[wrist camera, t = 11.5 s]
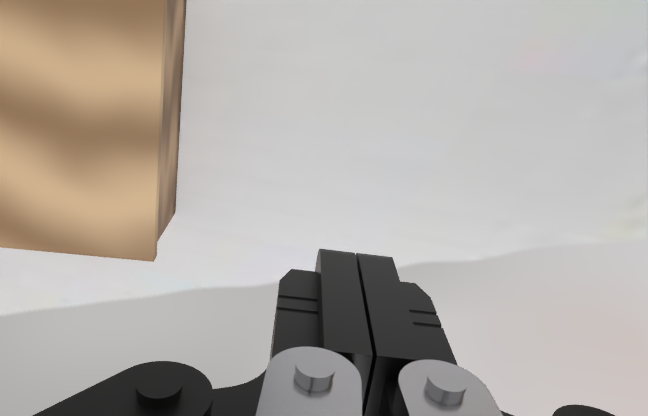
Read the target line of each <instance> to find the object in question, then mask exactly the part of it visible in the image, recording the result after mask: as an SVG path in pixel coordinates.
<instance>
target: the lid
mask: <svg viewBox="0 0 648 416" xmlns="http://www.w3.org/2000/svg"><path fill="white" fill-rule="evenodd" d="M166 18H167V0H0V247H3V248H14V249H25V250H35V251H46V252H57V253H67V254H78V255H89V256H99V257H110V258H121V259H131V260H142V261H153V262H154V260H155V258H156V256H157V233H158V209H159V185H160V161H161V137H162V113H163V90H164V66H165V42H166Z"/></svg>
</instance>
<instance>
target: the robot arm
mask: <svg viewBox="0 0 648 416" xmlns="http://www.w3.org/2000/svg"><path fill="white" fill-rule="evenodd" d="M33 416H513V415H510V414H508V413H505V412H503V411H501V410H500V409H499V407H498V406H497V404H496V402H495V400H494V398H493V397H492V395H491V393H490V391H489V390H488V388H487V387H486V385H485V384H484V383H483V382H482V381H481V380H480V379H479V378H478V377H476V376H475V375H474V374H472V373H471V372H469V371H467V370H465V369H464V368H462V367H459V366H458V365H457V363H456V360H455V358H454V355H453V353H452V350H451V348H450V345H449V343H448V340H447V338H446V335H445V333H444V330H443V328H441V323H440V320H439V318H438V316H437V315H436V310H435V308H434V305H433V303H432V300H431V298H430V297H429V296H428V295H427V294H426V293H425V292H424V291H423V290H422V289H420V287H419V286H418V285H416V284H415V283H408V282H400V280H399V277H398V274H397V270H396V267H395V264H394V261H393V258H392V257H385V256H377V255H369V254H360V253H356V255H355V253H351V252H343V251H334V250H326V249H319V251H318V256H317V262H316V268H315V272H312V271H304V270H295V269H291V270H290V271H289V272H288V273H287V274H286V275H285V276H284V277H283V278H282V279H281V280H280V283H279V290H278V298H277V306H276V314H275V321H274V329H273V337H272V344H271V354H270V362H269V364H268V366H267V369H266V370H265V371H264V372H263V373H262V374H261V375H260V376H259V377H257V378H255V379H254V380H251V381H249V382H247V383H244V384H241V385H237V386H232V387H226V388H219V389H212V385H211V383H210V381H209V380H208V379H207V377H206V376H205V375H204V374H203V373H201V372H200V371H199V370H197V369H195V368H193V367H191V366H188V365H186V364H181V363H178V362H170V361H156V362H148V363H143V364H139V365H136V366H133V367H131V368H128V369H126V370H124V371H122V372H120V373H118V374H116V375H114V376H112V377H110V378H108V379H106V380H104V381H102V382H100V383H98V384H96V385H94V386H92V387H90V388H88V389H86V390H84V391H81V392H79V393H77V394H75V395H73V396H71V397H69V398H67V399H65V400H63V401H61V402H59V403H57V404H55V405H53V406H51V407H49V408H47V409H45V410H43V411H41V412H39V413H37V414H35V415H33ZM553 416H615V415H613V414H610V413H608V412H606V411H603V410H600V409H597V408H593V407H589V406H584V405H567V406H563V407H561V408H559V409H557V410H556V411H555V412H554V414H553Z"/></svg>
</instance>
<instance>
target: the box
mask: <svg viewBox="0 0 648 416" xmlns="http://www.w3.org/2000/svg"><path fill="white" fill-rule="evenodd" d="M185 18H186V0H167V18H166V42H165V66H164V90H163V113H162V137H161V161H160V185H159V209H158V233H157V241H158V240H159V238H160V236H161V235H162V233H163V232H164V230H165V228H166V227H167V225H168V223H169V222H170V220H171V219H172V217H173V215H174V214H175V206H176V187H177V168H178V150H179V131H180V112H181V93H182V74H183V55H184V37H185Z"/></svg>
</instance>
